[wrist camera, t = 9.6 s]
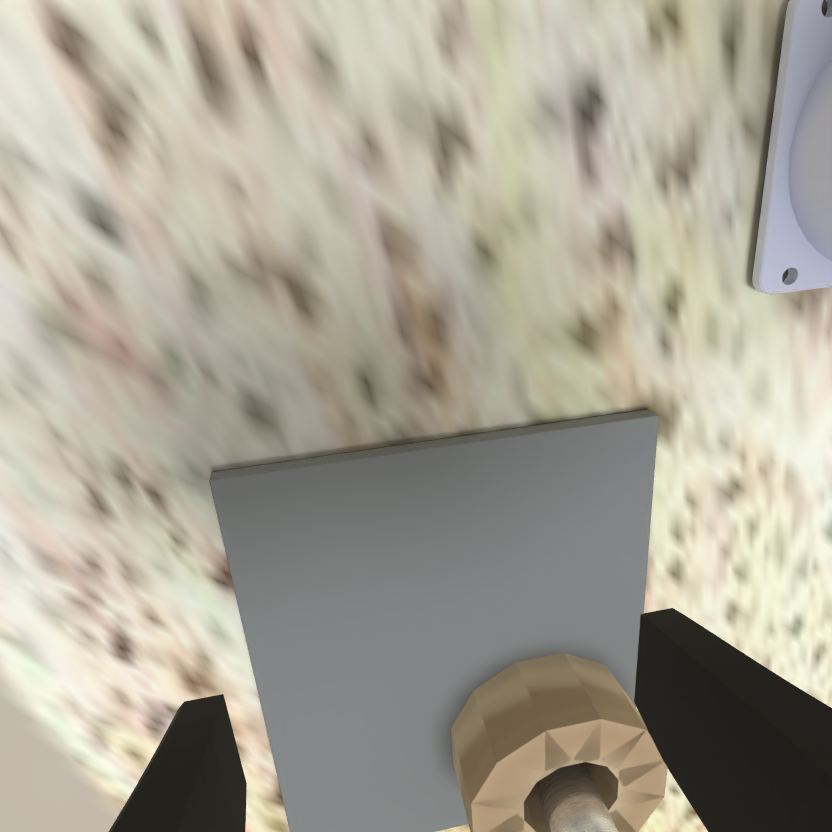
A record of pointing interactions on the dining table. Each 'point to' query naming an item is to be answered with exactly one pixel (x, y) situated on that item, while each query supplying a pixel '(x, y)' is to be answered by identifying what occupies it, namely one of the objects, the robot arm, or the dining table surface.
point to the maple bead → (553, 744)
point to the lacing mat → (428, 598)
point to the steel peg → (573, 801)
